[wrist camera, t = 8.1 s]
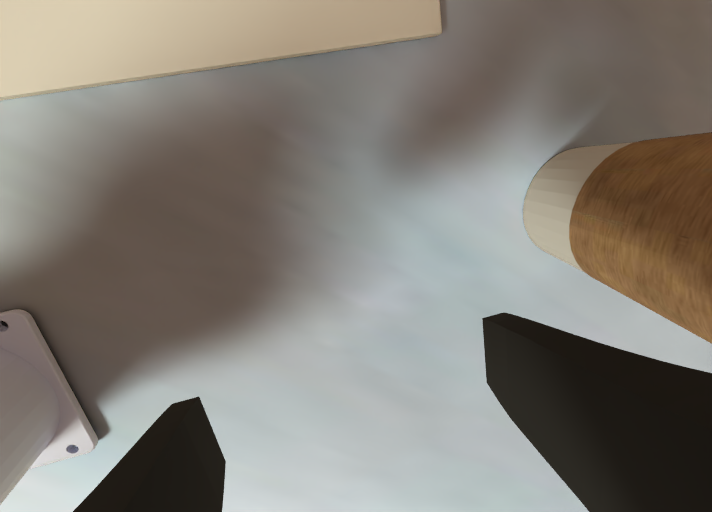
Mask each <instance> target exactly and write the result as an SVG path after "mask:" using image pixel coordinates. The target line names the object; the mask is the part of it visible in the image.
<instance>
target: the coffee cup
mask: <svg viewBox="0 0 712 512" xmlns="http://www.w3.org/2000/svg"><path fill="white" fill-rule="evenodd" d="M523 220H524V225H525V229H526V231H527V233H528V236H529V238H530V239H531V240H532V242H533V243H534V244H535V245H536V246H537V247H539V248H540V249H541V250H543V251H544V252H546V253H548V254H550V255H552V256H554V257H556V258H558V259H560V260H562V261H564V262H566V263H568V264H570V265H572V266H573V267H575V268H577V269H579V270H581V271H583V272H585V273H587V274H588V275H589V276H591V277H593V278H594V279H596V280H598V281H600V282H602V283H603V284H605V285H607V286H609V287H611V288H612V289H614V290H616V291H618V292H620V293H621V294H623V295H625V296H627V297H629V298H631V299H632V300H634V301H636V302H638V303H640V304H641V305H643V306H645V307H647V308H649V309H650V310H652V311H654V312H656V313H658V314H659V315H661V316H663V317H665V318H667V319H668V320H670V321H672V322H674V323H676V324H677V325H679V326H681V327H683V328H685V329H686V330H688V331H690V332H692V333H694V334H696V335H697V336H699V337H701V338H703V339H705V340H706V341H708V342H710V343H712V132H711V133H702V134H694V135H685V136H677V137H668V138H660V139H651V140H643V141H639V142H632V143H621V144H610V145H599V146H588V147H579V148H574V149H570V150H566V151H564V152H562V153H560V154H558V155H556V156H555V157H553V158H552V159H550V160H549V161H548V162H547V163H546V164H545V165H544V166H543V167H542V168H541V169H540V170H539V171H538V173H537V174H536V175H535V177H534V178H533V180H532V182H531V184H530V186H529V188H528V190H527V194H526V197H525V200H524V207H523Z"/></svg>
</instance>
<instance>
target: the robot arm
mask: <svg viewBox="0 0 712 512" xmlns="http://www.w3.org/2000/svg"><path fill="white" fill-rule="evenodd" d="M1 321H4V322H6V323H7V324H8V327H5V326H3V325H2V324H1ZM483 333H484V348H485V362H486V377H487V383H488V385H489V387H490V388H491V390H492V391H493V393H494V394H495V396H496V398H497V399H498V401H499V402H500V404H501V405H502V407H503V408H504V410H505V411H506V412H507V414H508V415H509V417H510V418H511V419H512V421H513V422H514V423H515V424H516V425H517V427H518V428H519V429H520V430H521V431H522V433H523V434H524V435H525V436H526V437H527V439H528V440H529V441H530V442H531V443H532V444H533V446H534V447H535V448H536V449H537V450H538V452H539V453H540V454H541V455H542V456H543V457H544V459H545V460H546V461H547V462H548V463H549V464H550V466H551V467H552V468H553V469H554V470H555V471H556V473H557V474H558V475H559V476H560V477H561V478H562V480H563V481H564V482H565V483H566V484H567V486H568V487H569V488H570V489H571V490H572V491H573V493H574V494H575V495H576V496H577V497H578V498H579V500H580V501H581V502H582V503H583V504H584V506H585V507H586V508H587V509H588V511H589V512H712V373H708V372H704V371H699V370H695V369H691V368H686V367H682V366H678V365H675V364H671V363H667V362H663V361H659V360H656V359H652V358H649V357H645V356H642V355H638V354H635V353H631V352H628V351H624V350H621V349H617V348H614V347H611V346H608V345H604V344H601V343H598V342H595V341H592V340H589V339H586V338H583V337H580V336H577V335H574V334H571V333H568V332H565V331H562V330H559V329H556V328H553V327H550V326H547V325H544V324H541V323H538V322H535V321H532V320H529V319H525V318H522V317H519V316H516V315H512V314H508V313H500V314H497V315H493V316H489V317H486V318H483ZM97 443H98V438H97V436H96V434H95V432H94V430H93V428H92V426H91V425H90V423H89V421H88V419H87V417H86V415H85V414H84V412H83V410H82V408H81V406H80V404H79V402H78V401H77V399H76V397H75V395H74V393H73V391H72V390H71V388H70V386H69V384H68V382H67V380H66V378H65V377H64V375H63V373H62V371H61V369H60V367H59V366H58V364H57V362H56V360H55V358H54V356H53V354H52V353H51V351H50V349H49V347H48V345H47V343H46V341H45V340H44V338H43V336H42V334H41V332H40V330H39V329H38V327H37V325H36V323H35V321H34V319H33V317H32V316H31V315H30V314H29V313H28V312H26V311H25V310H21V309H14V310H10V311H5V312H1V313H0V505H1V503H2V502H3V501H4V500H5V498H6V497H7V496H8V495H9V493H10V492H11V491H12V490H13V488H14V487H15V486H16V484H17V483H18V482H19V481H20V479H21V478H22V477H23V476H24V474H25V473H26V472H27V471H28V469H32V468H36V467H39V466H43V465H46V464H50V463H54V462H57V461H61V460H64V459H68V458H71V457H75V456H79V455H82V454H86V453H89V452H91V451H92V450H93V449H94V448H95V447H96V445H97ZM72 445H76V446H77V447H74V446H72ZM225 462H226V461H225V459H224V456H223V454H222V452H221V449H220V447H219V444H218V442H217V439H216V437H215V434H214V432H213V430H212V427H211V425H210V422H209V420H208V417H207V415H206V412H205V410H204V408H203V405H202V403H201V400H200V398H199V397H196V398H192V399H189V400H185V401H181V402H178V403H174V404H172V405H171V406H170V407H169V408H168V409H167V410H166V411H165V412H164V413H163V414H162V415H161V416H160V417H159V418H158V419H157V420H156V421H155V422H154V423H153V425H152V426H151V427H150V428H149V429H148V430H147V431H146V432H145V433H144V435H143V436H142V437H141V438H140V439H139V440H138V441H137V442H136V444H135V445H134V446H133V447H132V448H131V449H130V450H129V451H128V453H127V454H126V455H125V456H124V457H123V458H122V459H121V460H120V461H119V462H118V464H117V465H116V466H115V467H114V468H113V469H112V470H111V471H110V472H109V474H108V475H107V476H106V477H105V478H104V479H103V480H102V481H101V482H100V484H99V485H98V486H97V487H96V488H95V489H94V490H93V491H92V492H91V493H90V494H89V495H88V496H87V497H86V499H85V500H84V501H83V502H82V503H81V504H80V505H79V506H78V507H77V508H76V509H75V510H74V511H73V512H222V505H223V493H224V479H225Z"/></svg>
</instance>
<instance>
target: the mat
mask: <svg viewBox="0 0 712 512" xmlns="http://www.w3.org/2000/svg"><path fill="white" fill-rule="evenodd" d="M441 33H442V27H441V14H440V1H439V0H0V100H7V99H14V98H20V97H27V96H34V95H41V94H48V93H54V92H61V91H68V90H75V89H81V88H88V87H95V86H102V85H109V84H115V83H122V82H129V81H136V80H143V79H149V78H156V77H163V76H170V75H176V74H183V73H190V72H197V71H204V70H210V69H217V68H224V67H231V66H237V65H244V64H251V63H258V62H265V61H271V60H278V59H285V58H292V57H299V56H305V55H312V54H319V53H326V52H332V51H339V50H346V49H353V48H360V47H366V46H373V45H380V44H387V43H393V42H400V41H407V40H414V39H421V38H427V37H434V36H438V35H439V34H441Z"/></svg>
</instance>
